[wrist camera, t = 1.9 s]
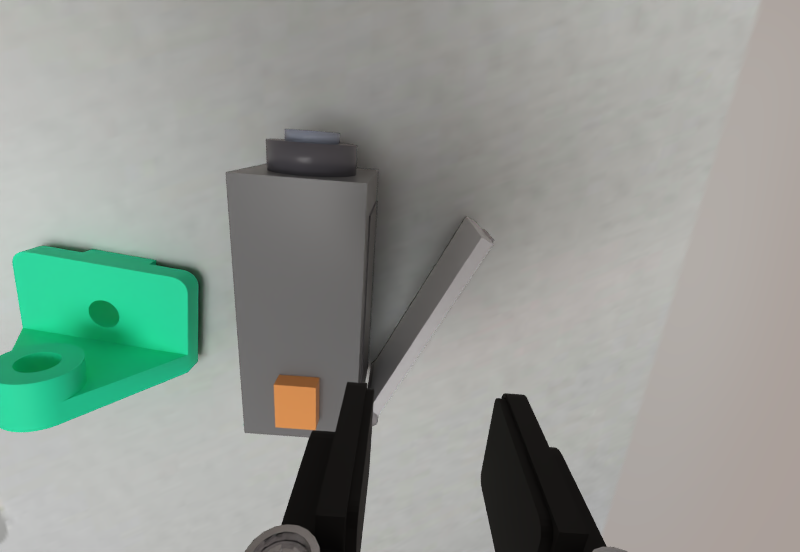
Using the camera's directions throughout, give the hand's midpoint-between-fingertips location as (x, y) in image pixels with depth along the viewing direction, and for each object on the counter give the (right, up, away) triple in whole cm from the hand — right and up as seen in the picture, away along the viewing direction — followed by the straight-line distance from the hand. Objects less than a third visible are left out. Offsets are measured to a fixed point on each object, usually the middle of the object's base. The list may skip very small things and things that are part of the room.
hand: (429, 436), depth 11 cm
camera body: (-6, +5, +19) cm, 20 cm away
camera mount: (-22, +3, +20) cm, 30 cm away
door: (+1, +2, +19) cm, 20 cm away
